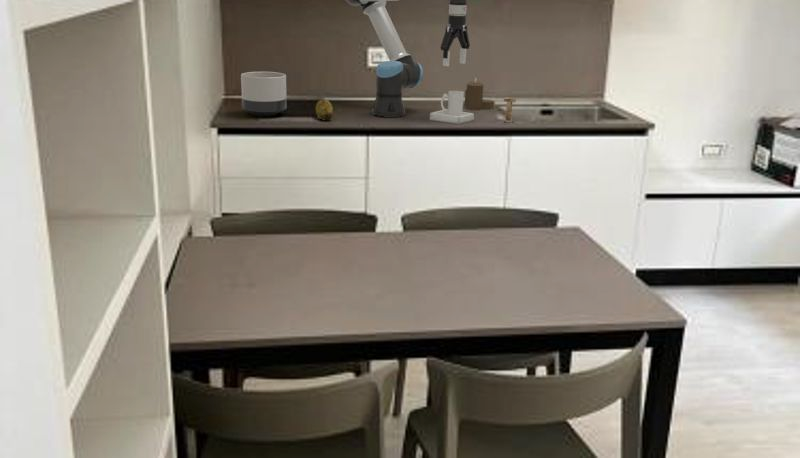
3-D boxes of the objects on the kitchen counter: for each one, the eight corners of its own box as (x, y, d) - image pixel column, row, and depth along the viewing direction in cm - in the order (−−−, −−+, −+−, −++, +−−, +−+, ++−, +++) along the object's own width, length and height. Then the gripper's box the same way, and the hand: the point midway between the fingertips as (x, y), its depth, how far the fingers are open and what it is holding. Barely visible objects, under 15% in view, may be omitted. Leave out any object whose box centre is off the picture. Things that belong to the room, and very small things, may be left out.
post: (501, 121, 351) (502, 98, 348) (505, 120, 354) (506, 97, 351) (511, 123, 348) (513, 99, 345) (515, 121, 352) (517, 98, 348)
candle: (483, 111, 374) (485, 79, 369) (457, 108, 380) (459, 77, 375) (494, 107, 385) (497, 76, 380) (469, 104, 391) (471, 74, 387)
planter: (273, 120, 336) (273, 78, 331) (234, 116, 342) (232, 75, 337) (294, 113, 354) (293, 73, 348) (255, 109, 360) (254, 70, 354)
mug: (463, 118, 352) (464, 91, 349) (461, 121, 346) (462, 93, 342) (441, 116, 354) (442, 89, 350) (438, 119, 348) (440, 92, 344)
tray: (429, 119, 350) (430, 113, 349) (444, 115, 360) (444, 109, 359) (459, 124, 342) (459, 117, 341) (473, 120, 352) (473, 113, 351)
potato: (312, 121, 337) (312, 102, 335) (316, 116, 350) (316, 98, 347) (332, 122, 337) (332, 103, 335) (335, 116, 350) (335, 98, 347)
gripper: (449, 16, 329) (446, 68, 336) (479, 14, 348) (476, 63, 355) (434, 15, 333) (431, 66, 340) (465, 13, 352) (462, 61, 359)
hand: (454, 64), depth 348 cm, fingers open, 13 cm apart
